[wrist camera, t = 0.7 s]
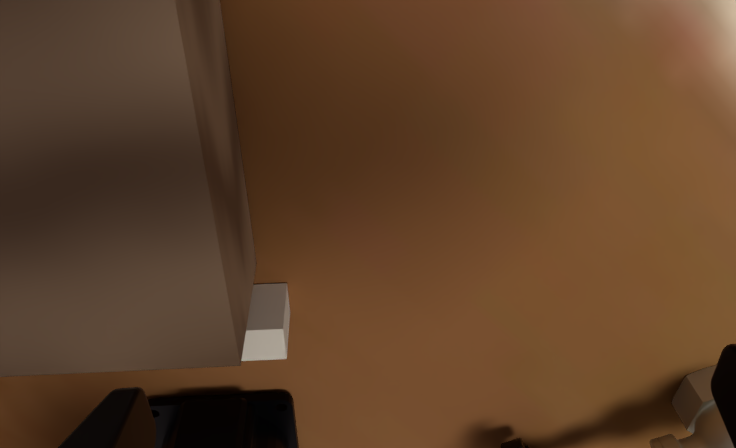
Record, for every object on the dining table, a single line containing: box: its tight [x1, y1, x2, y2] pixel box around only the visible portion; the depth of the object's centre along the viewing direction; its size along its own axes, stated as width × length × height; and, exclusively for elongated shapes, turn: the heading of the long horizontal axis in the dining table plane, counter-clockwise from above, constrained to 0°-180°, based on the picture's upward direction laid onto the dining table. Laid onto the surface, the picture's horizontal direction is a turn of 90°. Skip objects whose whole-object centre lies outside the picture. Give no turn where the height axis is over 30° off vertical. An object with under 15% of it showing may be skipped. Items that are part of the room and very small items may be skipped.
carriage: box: [0, 0, 257, 377], centre depth 17 cm, size 11×12×5 cm
